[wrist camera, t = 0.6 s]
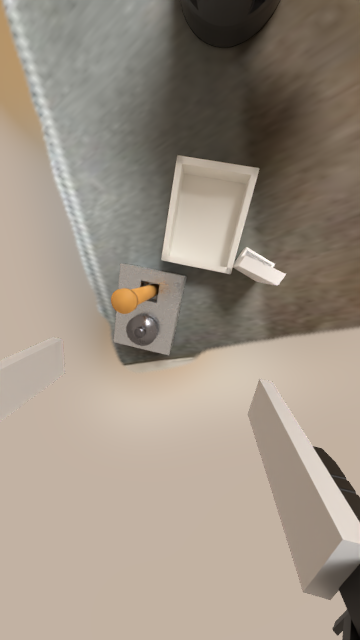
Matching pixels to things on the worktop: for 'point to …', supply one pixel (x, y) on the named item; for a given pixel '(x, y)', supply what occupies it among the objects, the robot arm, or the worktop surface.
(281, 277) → the white wedge bracket
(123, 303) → the lock pin
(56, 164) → the worktop surface
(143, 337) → the block
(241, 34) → the robot arm
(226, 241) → the tray
